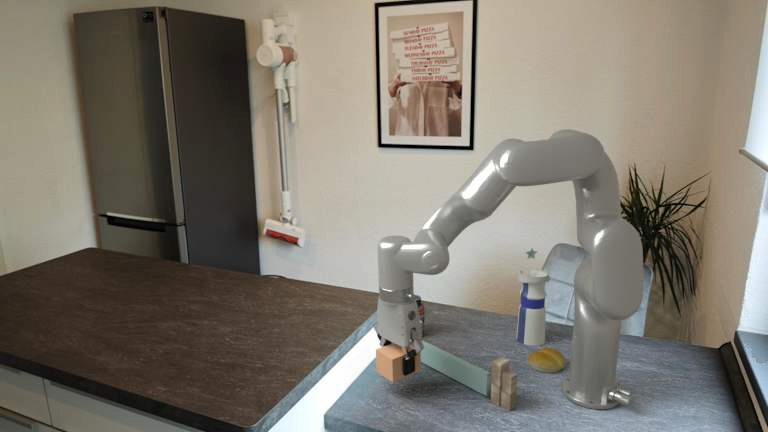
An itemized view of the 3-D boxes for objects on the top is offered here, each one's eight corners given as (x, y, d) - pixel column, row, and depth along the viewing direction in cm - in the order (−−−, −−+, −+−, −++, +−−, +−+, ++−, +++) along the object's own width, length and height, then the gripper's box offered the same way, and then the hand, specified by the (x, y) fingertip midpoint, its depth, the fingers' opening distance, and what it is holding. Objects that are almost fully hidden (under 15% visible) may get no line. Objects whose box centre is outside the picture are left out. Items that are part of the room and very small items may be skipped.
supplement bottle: (404, 329, 153) (404, 292, 151) (424, 330, 152) (425, 293, 150) (401, 339, 148) (401, 300, 145) (423, 340, 147) (423, 301, 144)
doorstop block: (420, 370, 121) (420, 348, 120) (393, 382, 116) (392, 359, 115) (404, 360, 126) (403, 339, 124) (376, 372, 121) (375, 349, 120)
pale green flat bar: (496, 396, 119) (496, 375, 118) (490, 399, 118) (491, 378, 117) (421, 357, 136) (422, 339, 135) (416, 360, 135) (416, 341, 134)
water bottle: (507, 336, 149) (511, 250, 143) (531, 330, 152) (536, 246, 147) (526, 348, 142) (532, 258, 136) (552, 342, 145) (558, 254, 139)
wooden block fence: (516, 406, 116) (519, 364, 113) (508, 411, 114) (510, 369, 112) (408, 350, 141) (408, 315, 139) (400, 354, 139) (400, 318, 137)
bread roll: (521, 364, 134) (521, 349, 133) (545, 354, 139) (546, 340, 138) (547, 378, 127) (548, 363, 126) (572, 368, 132) (573, 353, 131)
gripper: (437, 298, 113) (438, 375, 117) (383, 279, 125) (386, 349, 130) (411, 308, 108) (413, 388, 112) (358, 287, 121) (361, 359, 125)
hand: (398, 366), depth 121 cm, fingers closed on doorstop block, 6 cm apart
